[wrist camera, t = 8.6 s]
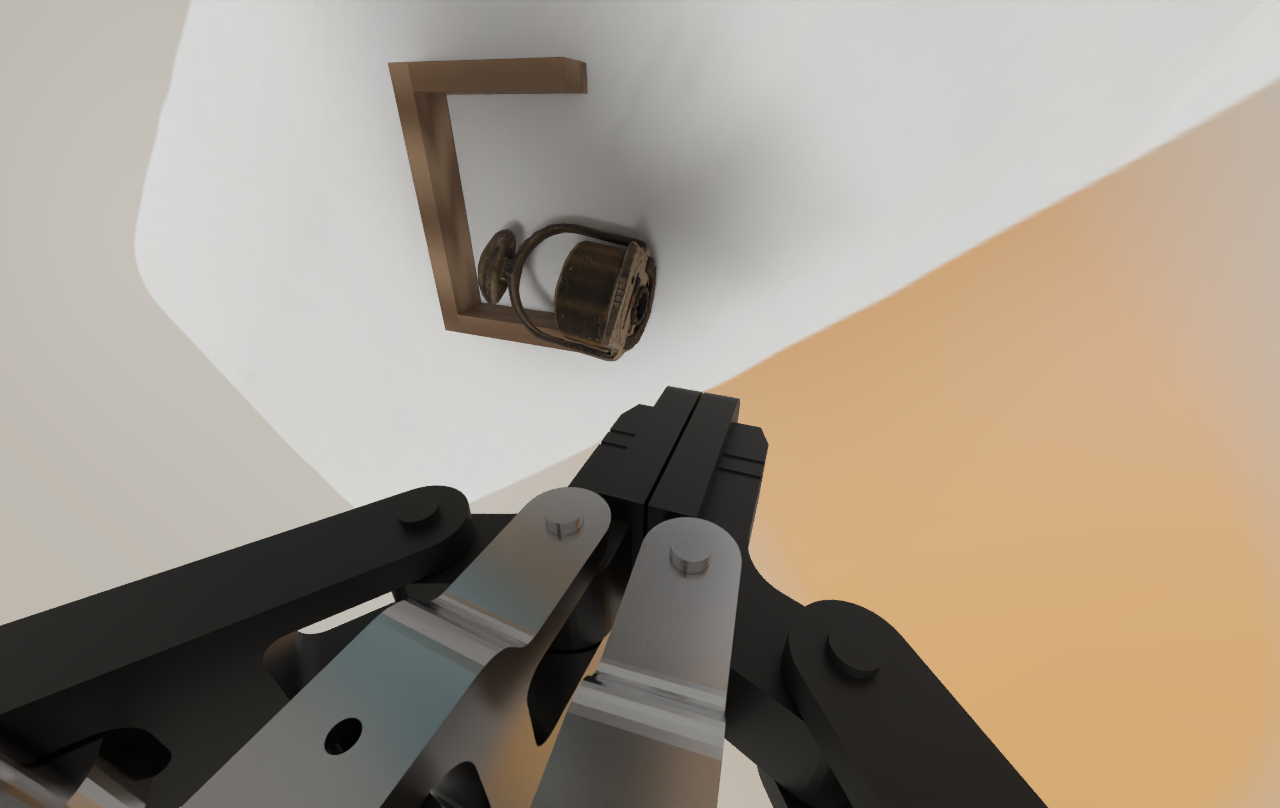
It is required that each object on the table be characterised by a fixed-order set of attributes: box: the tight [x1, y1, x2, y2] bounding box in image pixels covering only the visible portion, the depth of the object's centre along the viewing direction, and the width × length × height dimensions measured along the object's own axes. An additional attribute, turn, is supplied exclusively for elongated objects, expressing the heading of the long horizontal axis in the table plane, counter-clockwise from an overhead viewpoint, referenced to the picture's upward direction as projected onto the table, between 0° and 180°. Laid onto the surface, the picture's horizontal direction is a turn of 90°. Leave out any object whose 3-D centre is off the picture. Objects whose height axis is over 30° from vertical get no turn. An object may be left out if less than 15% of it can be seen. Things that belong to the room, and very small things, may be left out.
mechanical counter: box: [478, 223, 656, 361], centre depth 32 cm, size 7×13×10 cm
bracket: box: [388, 57, 587, 352], centre depth 33 cm, size 18×12×3 cm
